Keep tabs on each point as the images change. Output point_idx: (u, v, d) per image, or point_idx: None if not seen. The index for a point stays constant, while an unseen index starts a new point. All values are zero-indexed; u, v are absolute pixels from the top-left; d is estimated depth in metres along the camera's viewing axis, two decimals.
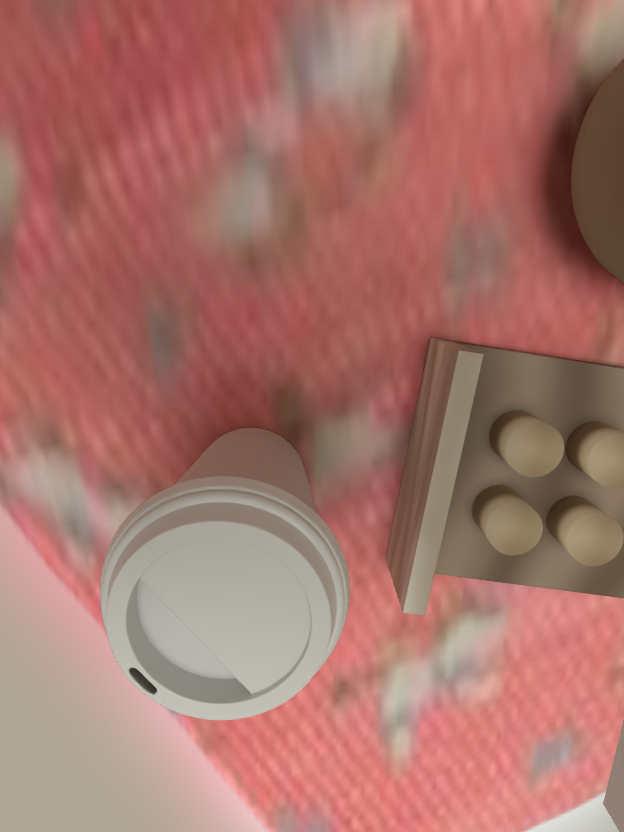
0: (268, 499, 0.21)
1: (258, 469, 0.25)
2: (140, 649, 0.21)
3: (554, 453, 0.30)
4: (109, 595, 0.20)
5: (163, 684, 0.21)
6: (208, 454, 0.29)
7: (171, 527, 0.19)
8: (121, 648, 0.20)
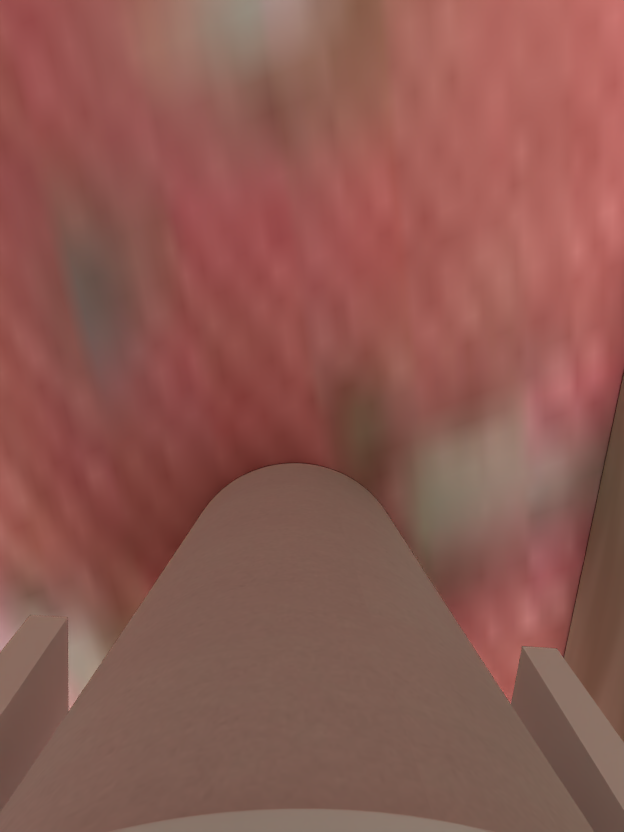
0: None
1: (353, 631, 0.08)
2: None
3: None
4: None
5: None
6: (200, 548, 0.12)
7: None
8: None
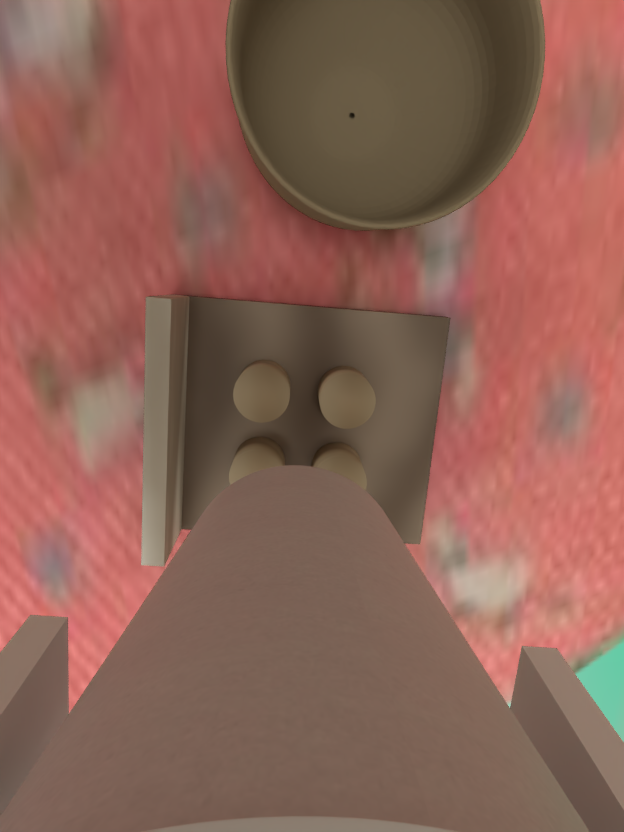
0: None
1: (352, 635, 0.08)
2: None
3: (280, 396, 0.31)
4: None
5: None
6: (199, 551, 0.12)
7: None
8: None
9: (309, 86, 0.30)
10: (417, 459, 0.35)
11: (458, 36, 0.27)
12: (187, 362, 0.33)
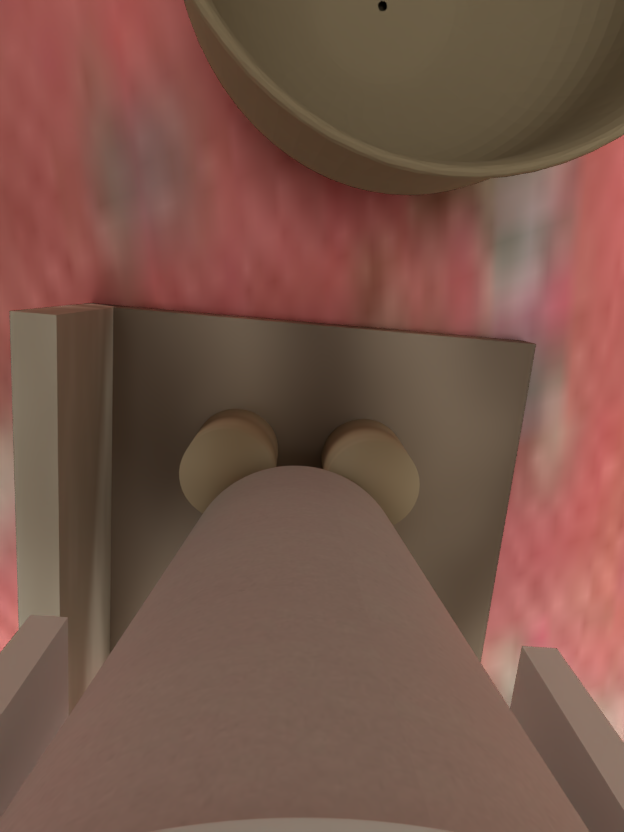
0: None
1: (353, 636, 0.08)
2: None
3: None
4: None
5: None
6: (199, 551, 0.12)
7: None
8: None
9: None
10: (475, 562, 0.22)
11: None
12: (112, 412, 0.20)
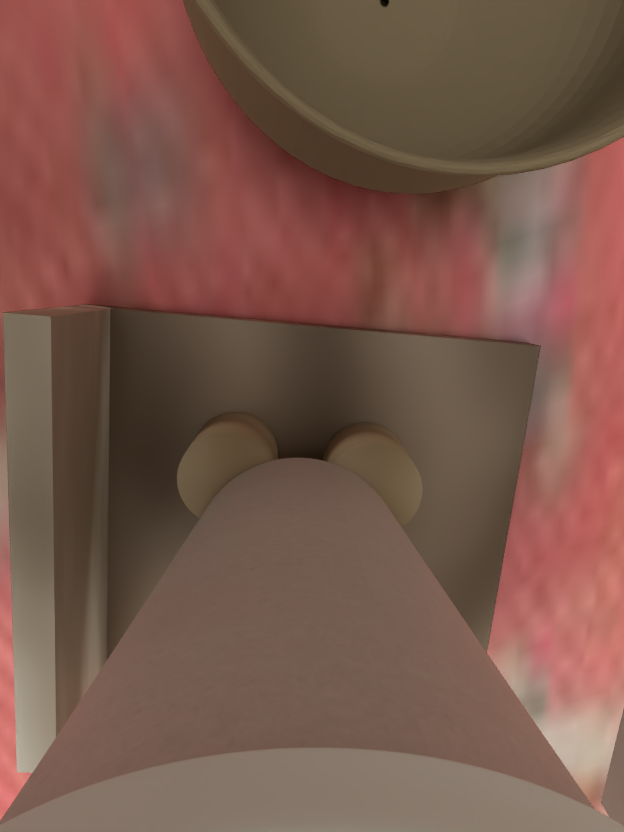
0: None
1: (358, 608, 0.08)
2: None
3: None
4: None
5: None
6: (209, 537, 0.12)
7: None
8: None
9: None
10: (478, 568, 0.22)
11: None
12: (109, 416, 0.20)
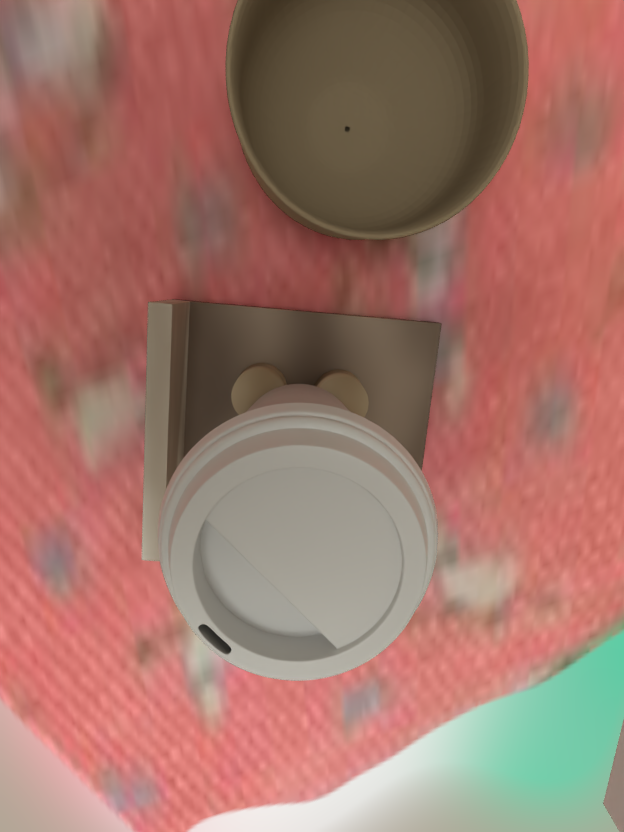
0: (344, 423, 0.18)
1: None
2: (208, 604, 0.18)
3: None
4: (172, 541, 0.17)
5: (237, 642, 0.18)
6: (257, 405, 0.26)
7: (239, 457, 0.17)
8: (189, 602, 0.18)
9: (306, 101, 0.31)
10: None
11: (448, 55, 0.29)
12: (187, 365, 0.34)
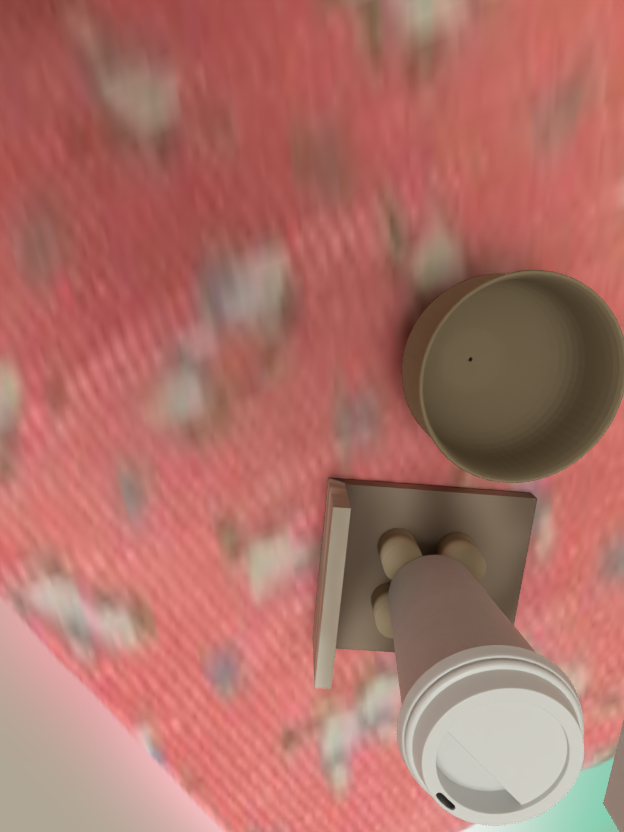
0: (529, 663, 0.28)
1: (488, 621, 0.32)
2: (439, 777, 0.28)
3: None
4: (425, 743, 0.27)
5: (458, 802, 0.28)
6: (424, 595, 0.36)
7: (470, 693, 0.27)
8: (431, 779, 0.28)
9: (442, 343, 0.41)
10: (507, 598, 0.46)
11: (556, 323, 0.39)
12: None
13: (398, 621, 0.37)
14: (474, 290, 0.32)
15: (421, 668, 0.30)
